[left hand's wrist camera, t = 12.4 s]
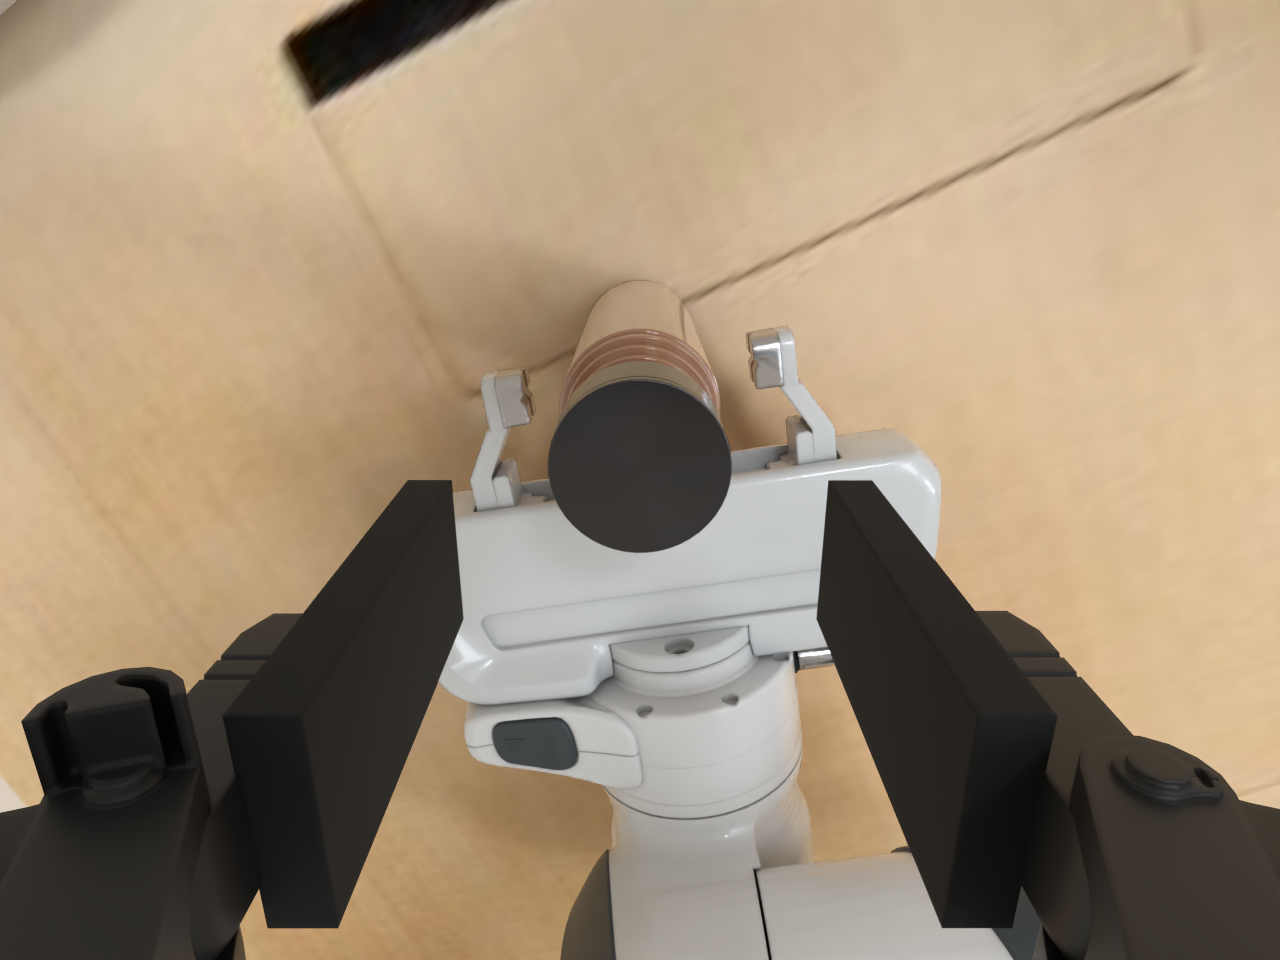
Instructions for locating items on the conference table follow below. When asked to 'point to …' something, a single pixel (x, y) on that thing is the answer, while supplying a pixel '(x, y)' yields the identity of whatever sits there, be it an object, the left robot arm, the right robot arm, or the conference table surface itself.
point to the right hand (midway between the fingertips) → (634, 351)
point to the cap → (639, 458)
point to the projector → (5, 5)
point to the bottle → (639, 337)
